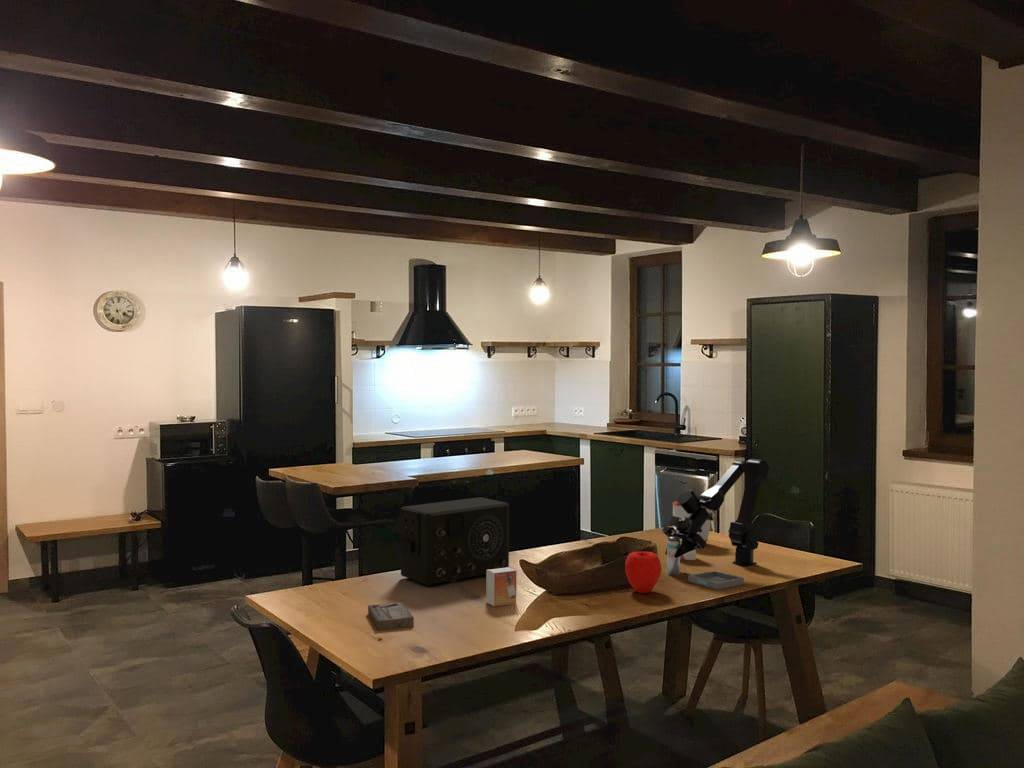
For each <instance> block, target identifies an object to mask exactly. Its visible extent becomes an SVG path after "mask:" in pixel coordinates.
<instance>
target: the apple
mask: <svg viewBox="0 0 1024 768" xmlns="http://www.w3.org/2000/svg"><path fill="white" fill-rule="evenodd" d="M624 568H625V570H624V572H625V575H626V578H627V580H628V583H629V584H630V586H631V587H632V589H634V591H635V592H637V593H639V594H647V593H650V592H652V591H653V589H654V588H655V586H656V585H657V583H658V581H659V579H660V576H661V575H662V562H661V559H660V558H659V556H658V555H657V554H656V553H654V552H653V551H643V550H641V551H640V550H639V551H632V552H630V553H629V554H628V555H627V557H626V559H625V563H624Z"/></svg>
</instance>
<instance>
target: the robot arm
mask: <svg viewBox="0 0 1024 768" xmlns="http://www.w3.org/2000/svg"><path fill="white" fill-rule="evenodd" d="M769 470H770V465H769V464H768V462H767V461H766V460H762V459H756V458H749V459H748V460H735V461H733V462H732V464H731V466H730V467H729V468H728V469H727V471H726V472H725V473H724V474H723V476H721V478H720V479H719V480H718V481H717V482H716V483H715V485H713V486H712V487H710V488H707V489H706V490H705V491H704V492H702V493H701V494H700V496H697V495H696V493H695V492H694V490H692V489H688V490H687V491H686V492H682V494H680V495H678V497H677V500H676V501H677V502H678V504H679V505H680V506H681V507H682V508H683V509H684V511H685V512H686V513H687V514H691V515H690V516H689V517H688V518H687V517H683V518H679V517H676V516H673V515H671V516H670V519H669V523H668V525H664V526H663V528H662V529H661V531H662V533H663V534H664V535H665V536H666V537H667V538H668V537H670V536H675V537H679V539H682V543H681V544H680V547H679V548H678V550H677V551H676V553H675V555H674V557H675V558H678V557H680V556H682V555H683V554H686V553H688V552H690V551H692V550H696V551H697V549H698V550H702V551H704V550H705V548H706V547H707V542H705V540H704V539H703V538H702V537H701V536H700V535H699V534H697V533H698V532H700V533H701V532H702V530H701V527H702V526H703V525H704V523H705V522H706V520H710V522H713V521H714V516H712V513H713V511H715V512H716V511H718V510H720V509H721V507H722V505H723V503H724V501H725V498H726V497H725V496H726V494H727V493H728V492H729V491H730V489H732V487H733V486H734V485H735V483H736V482H737V481H738V480H739V478H741V476H742V475H743V474H744V477H745V481H746V482H745V486H744V491H743V494H742V500H741V504H740V507H739V508H740V509H739V512H738V516H737V519H736V520H735V521H731V522H730V524H729V529H728V530H727V532H728V538H729V540H730V543H731V545H732V546H733V547H735V553H734V554H735V557H734V560H733V561H732V564H736V565H740V566H744V567H748V566H752V565H757V561H756V562H755V561H754V550H757V549H758V548H759V542H758V541H757V540H756V538H755V537H754V527H753V523H752V519H753V516H754V513H755V507H756V502H757V499H758V494H759V490H760V486H761V484H762V483H763V481H765V479H766V478H767V476H768V472H769ZM706 509H709V510H711V511H712V513H709V512H708V511H707V510H706ZM671 525H672V526H671ZM673 525H674V526H676V529H677V530H678V531H679V533H678V532H677V531H676V530H675V529H674V528H673ZM695 547H696V548H695ZM664 554H665V555H666V556H667V547H666V548H665V553H664Z"/></svg>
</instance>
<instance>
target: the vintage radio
mask: <svg viewBox="0 0 1024 768" xmlns="http://www.w3.org/2000/svg"><path fill="white" fill-rule="evenodd" d="M399 550H400V575H401V576H402V577H403V578H407V579H408V580H413V581H416V582H418V583H421V584H423V585H426V586H427V587H431V588H433V587H436V585H437V584H438V585H439V584H444V583H448V582H453V581H457V580H458V581H459V580H463V579H468V578H473V577H480V576H484V575H486V572H487V570H488V569H499V568H506V567H510V504H509V503H508V502H505V501H500V500H496V499H489V498H486V497H480V496H479V497H470V498H463V499H455V500H447V501H439V502H432V503H424V504H414V505H408V506H407V505H405V506H402V507H401V508H399Z"/></svg>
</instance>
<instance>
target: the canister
mask: <svg viewBox="0 0 1024 768" xmlns="http://www.w3.org/2000/svg"><path fill="white" fill-rule="evenodd" d="M679 547H680V540H679V537H675V536H670V537H667V539H666V548H667V555H666V575H667V576H674V577H675V576H677V577H678V576H680V575H681V559H680V557H678V558H675V557H674V555H675V553H676V551H677V550H678V548H679Z"/></svg>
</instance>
